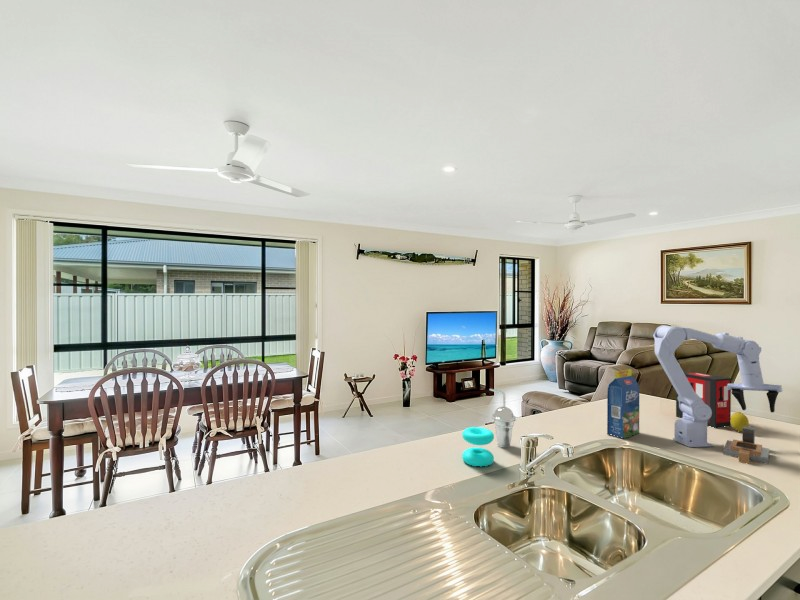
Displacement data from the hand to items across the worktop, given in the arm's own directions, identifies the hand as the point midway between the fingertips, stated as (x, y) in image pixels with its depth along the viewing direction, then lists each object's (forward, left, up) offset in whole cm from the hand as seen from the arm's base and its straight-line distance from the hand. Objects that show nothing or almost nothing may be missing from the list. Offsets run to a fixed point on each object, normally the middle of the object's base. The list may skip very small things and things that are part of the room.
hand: (758, 410), depth 140 cm
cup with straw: (-91, +8, -13) cm, 92 cm away
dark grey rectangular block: (-4, 0, -13) cm, 14 cm away
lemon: (+8, +15, -13) cm, 22 cm away
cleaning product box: (+5, +29, -13) cm, 32 cm away
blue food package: (-40, +16, -13) cm, 45 cm away
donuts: (-104, -5, -13) cm, 105 cm away
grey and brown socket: (-13, -7, -13) cm, 20 cm away
